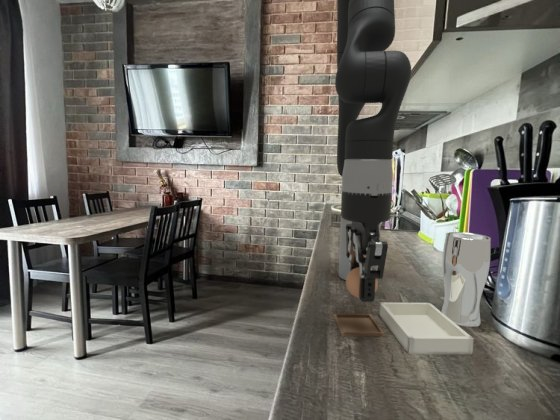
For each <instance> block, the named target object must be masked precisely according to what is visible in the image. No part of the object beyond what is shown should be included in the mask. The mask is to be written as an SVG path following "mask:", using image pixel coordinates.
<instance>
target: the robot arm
mask: <svg viewBox="0 0 560 420" xmlns="http://www.w3.org/2000/svg"><path fill="white" fill-rule="evenodd" d="M336 2H337V3H336V5H337V7H336V9H337V15H336V16H337V18H336V19H337V20H336V21H337V24H336V26H337V27H336V29H337V30H336V36H337V37H336V74H335V80H334V81H335V83H334V84H335V85H334V86H335V91H336V94H337V98H338V101H337V102H338V120H337V121H338V122H337V123H338V124H337V143H336V144H337V145H336V146H337V147H336V148H337V149H336V167H337V168H336V169H337V171H338V174H339V176H340V177H341V197H340V198H341V203H340V231H339V233H340V234H339V251H338V252H339V253H338V255H339V257H338V274H337V275H338V277H339V278H340V279H342V280H344V281H346V278H347V275H348V274H349V272H350V271H351V270H353V269H355V268H357V267H360V286H359V298H358V299H359V300H360V302H363V303H365V302H367V303H368V302H371V303H372V302H374V300H375V295H376V292H375V280H376V279H377V280H383V279H384V278H383V277H384V271H385V266H386V259H387V254H388V248H389V244H388V241H381V239H382V238H381V223H386V222H388V221H389V220H390V219H391V216H392V215H391V212H392V197H393V184H394V183H393V181H394V171H393V153H394V151H393V150H394V138H395V137H394V136H395V130H396V129H395V128H396V123H397V120H398V117H399V116H398V115H399V113H400V110H401V106H402V103H403V100H404V97H405V95H406V92H407V90H408V86H409V83H410V80H411V76H412V65H411V61H410V59H409V57H408V56H407V53H404V52H403V51H400V50H387V49H388V48H390V46H391V45H392V43H393V41H394V39H395V34H396V19H395V18H396V17H395V16H396V15H395V0H336ZM366 104H381V106H380V110H379V111H378V113H376V114H374V115H372V116H368V117H364V118H358V117H359V115H360V114H361V112H362V110H363V108H364V107H365V105H366Z"/></svg>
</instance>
